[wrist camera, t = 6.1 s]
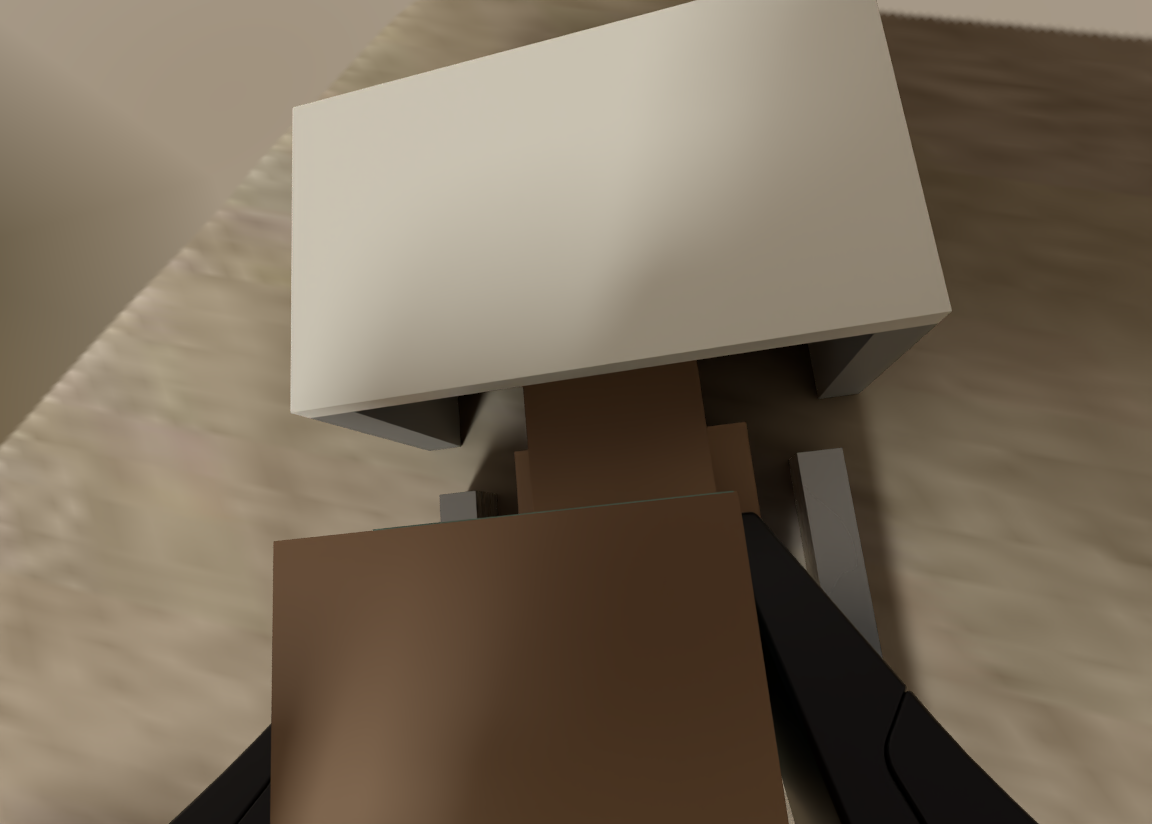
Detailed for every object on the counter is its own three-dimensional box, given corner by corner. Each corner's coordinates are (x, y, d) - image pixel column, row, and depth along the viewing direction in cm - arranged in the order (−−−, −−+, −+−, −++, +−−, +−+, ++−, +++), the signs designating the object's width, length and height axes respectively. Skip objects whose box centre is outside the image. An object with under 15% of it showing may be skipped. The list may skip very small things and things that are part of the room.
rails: (976, 1247, 12) (1015, 1354, 10) (501, 1190, 14) (475, 1273, 12) (828, 455, 15) (842, 447, 14) (463, 497, 17) (439, 494, 16)
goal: (858, 393, 15) (951, 311, 9) (429, 450, 18) (290, 413, 12) (810, 154, 17) (865, -45, 11) (420, 236, 19) (292, 107, 13)
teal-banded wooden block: (783, 674, 14) (1012, 1121, 3) (540, 686, 15) (155, 1048, 5) (735, 370, 16) (792, 43, 5) (518, 402, 17) (193, 189, 6)
